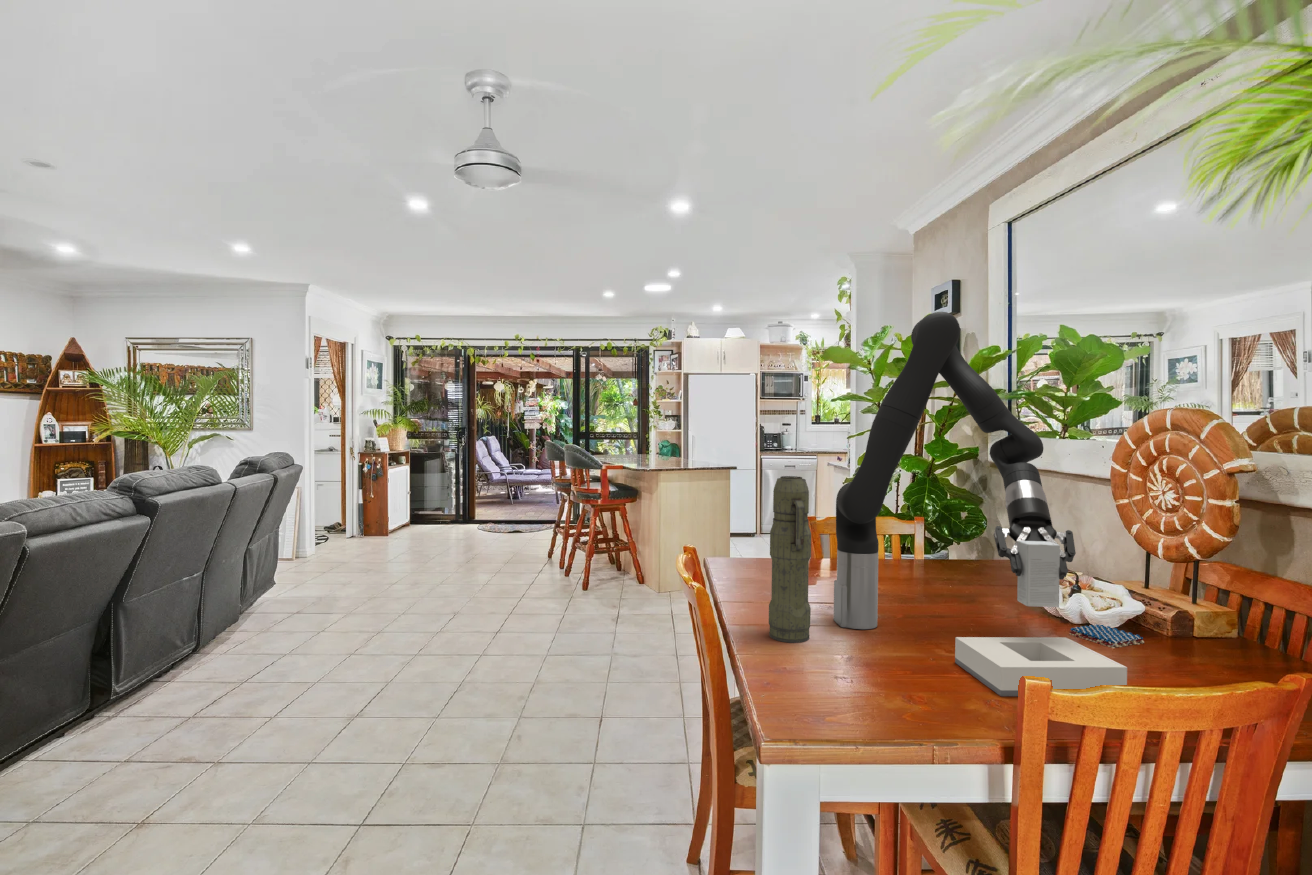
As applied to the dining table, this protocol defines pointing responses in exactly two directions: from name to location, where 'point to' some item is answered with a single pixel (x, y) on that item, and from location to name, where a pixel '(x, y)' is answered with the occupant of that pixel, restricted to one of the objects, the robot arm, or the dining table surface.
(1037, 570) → the skincare box
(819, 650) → the dining table surface
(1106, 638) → the woven mat
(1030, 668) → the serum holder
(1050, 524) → the robot arm
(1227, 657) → the dining table surface
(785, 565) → the thermos
